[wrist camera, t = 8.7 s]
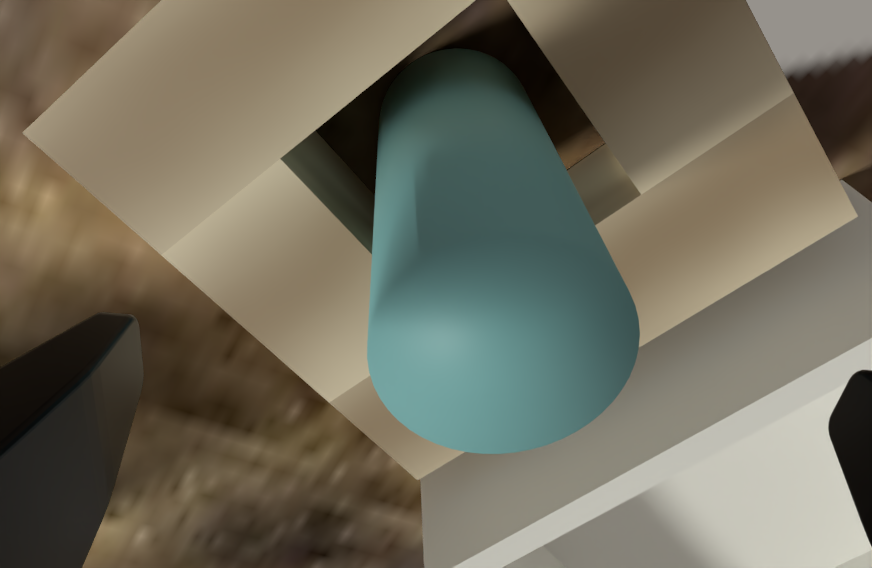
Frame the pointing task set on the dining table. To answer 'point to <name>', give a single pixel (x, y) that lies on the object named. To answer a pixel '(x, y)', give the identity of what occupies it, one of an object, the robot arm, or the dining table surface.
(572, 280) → the peg
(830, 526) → the open box
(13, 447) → the robot arm
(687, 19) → the bore plate
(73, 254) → the dining table surface
